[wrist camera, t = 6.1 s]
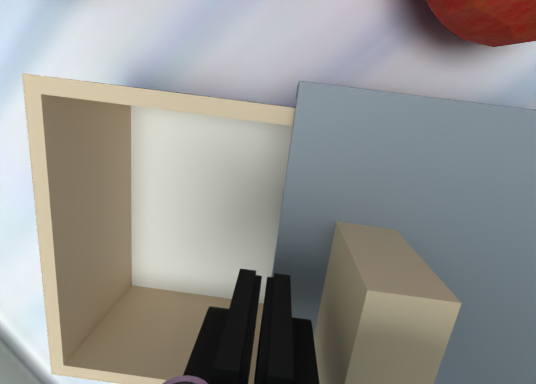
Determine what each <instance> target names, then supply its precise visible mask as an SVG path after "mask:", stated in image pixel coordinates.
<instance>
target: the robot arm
mask: <svg viewBox="0 0 536 384" xmlns="http://www.w3.org/2000/svg"><path fill="white" fill-rule="evenodd" d="M261 280H262V276H259V275H256V271H255V270H248V269H240V271H239V274H238V278H237V282H236V285H235V289H234V293H233V296H232V300H231V303H230V307H229V309H227V308H220V307H212V306H210V307H209V308H208V310H207V313H206V315H205V318H204V321H203V323H202V326H201V329H200V331H199V334H198V337H197V339H196V342H195V345H194V347H193V350H192V353H191V355H190V358H189V360H188V363H187V366H186V368H185V371H184V374H183V376H178V377H174V378H172V379H169V380H167V381H165V382H164V383H162V384H248V382H249V375H250V367H251V359H252V352H253V344H254V336H255V328H256V320H257V312H258V304H259V296H260V288H261ZM254 384H319V376H318V368H317V360H316V352H315V344H314V336H313V328H312V322H311V320H309V319H302V318H294V317H292V308H291V278H290V275H286V274H278V273H274V276H273V277H267V281H266V289H265V297H264V304H263V312H262V320H261V327H260V335H259V342H258V350H257V359H256V368H255V377H254Z"/></svg>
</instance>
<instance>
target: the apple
mask: <svg viewBox="0 0 536 384" xmlns="http://www.w3.org/2000/svg"><path fill="white" fill-rule="evenodd" d="M427 3H428V6H429V7H430V9H431V10H432V12H433V13H434V14H435V16H436V17H437V19H438V20H439V21H440V22H441V23H442V24H443V25H444V26H445V27H446V28H447V29H448V30H450V31H451V32H452V33H454V34H455V35H457V36H458V37H459V38H461V39H463V40H467V41H471V42H475V43H479V44H483V45H488V46H492V47H496V46H503V45H510V44H517V43H524V42H531V41H536V0H427Z"/></svg>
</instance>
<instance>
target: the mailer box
mask: <svg viewBox="0 0 536 384" xmlns="http://www.w3.org/2000/svg"><path fill="white" fill-rule="evenodd" d="M22 78H23V88H24V98H25V108H26V119H27V129H28V139H29V149H30V159H31V170H32V180H33V190H34V200H35V210H36V221H37V231H38V241H39V251H40V261H41V272H42V282H43V292H44V302H45V312H46V323H47V333H48V343H49V353H50V363H51V374H55V375H62V376H69V377H76V378H83V379H90V380H97V381H104V382H111V383H118V384H162V383H164V382H165V381H167V380H169V379H172V378H174V377H178V376H183V374H184V371H185V368H186V366H187V363H188V360H189V358H190V355H191V353H192V350H193V347H194V345H195V342H196V339H197V337H198V334H199V331H200V329H201V326H202V323H203V321H204V318H205V315H206V313H207V310H208V308H209V307H210V306H212V307H220V308H227V309H229V307H230V303H231V300H232V296H233V293H234V289H235V285H236V282H237V278H238V274H239V271H240V269H248V270H255V271H256V275H259V276H262V280H261V288H260V296H259V304H258V312H257V320H256V328H255V336H254V344H253V352H252V359H251V367H250V375H249V382H248V384H254V377H255V368H256V359H257V350H258V342H259V335H260V327H261V320H262V312H263V304H264V297H265V289H266V281H267V277H272V270H273V263H274V255H275V248H276V241H277V234H278V227H279V220H280V213H281V206H282V199H283V192H284V185H285V177H286V170H287V163H288V156H289V149H290V142H291V135H292V128H293V121H294V114H295V107H287V106H279V105H271V104H263V103H255V102H247V101H239V100H231V99H223V98H216V97H208V96H200V95H192V94H184V93H176V92H168V91H160V90H152V89H144V88H136V87H128V86H120V85H112V84H104V83H96V82H88V81H80V80H71V79H63V78H55V77H47V76H39V75H31V74H22Z"/></svg>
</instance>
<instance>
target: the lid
mask: <svg viewBox="0 0 536 384" xmlns="http://www.w3.org/2000/svg"><path fill="white" fill-rule="evenodd" d="M296 99H297V100H296V107H295V114H294V121H293V128H292V135H291V142H290V149H289V156H288V163H287V170H286V177H285V185H284V192H283V199H282V206H281V213H280V220H279V227H278V234H277V241H276V248H275V255H274V263H273V270H272V277H273V276H274V273H278V274H286V275H290V278H291V308H292V317H294V318H302V319H309V320H311V322H312V328H313V336H314V344H315V352H316V360H317V368H318V376H319V384H536V110H530V109H522V108H514V107H506V106H498V105H490V104H482V103H474V102H466V101H458V100H450V99H442V98H434V97H426V96H418V95H410V94H402V93H394V92H386V91H378V90H370V89H362V88H354V87H346V86H338V85H330V84H322V83H313V82H305V81H300V82H299V83H298V86H297V94H296Z"/></svg>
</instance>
